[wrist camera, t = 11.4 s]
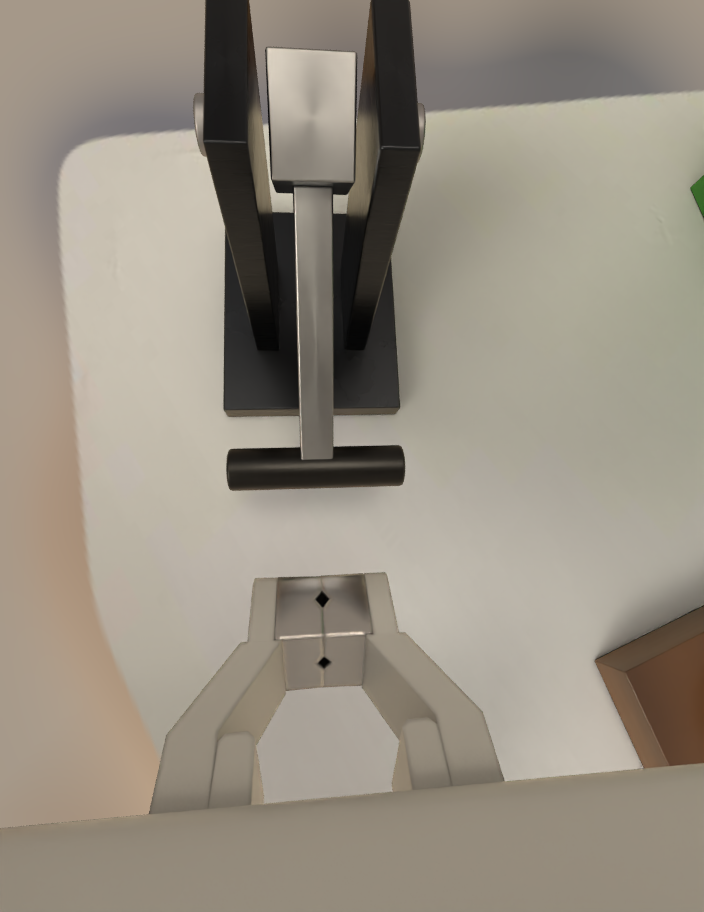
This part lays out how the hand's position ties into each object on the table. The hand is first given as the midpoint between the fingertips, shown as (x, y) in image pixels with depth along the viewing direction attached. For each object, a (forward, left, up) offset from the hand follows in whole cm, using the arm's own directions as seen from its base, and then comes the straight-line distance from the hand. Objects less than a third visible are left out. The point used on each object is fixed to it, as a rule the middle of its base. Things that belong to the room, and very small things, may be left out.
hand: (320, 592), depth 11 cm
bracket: (+4, +11, -11) cm, 16 cm away
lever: (+3, +8, -3) cm, 10 cm away
